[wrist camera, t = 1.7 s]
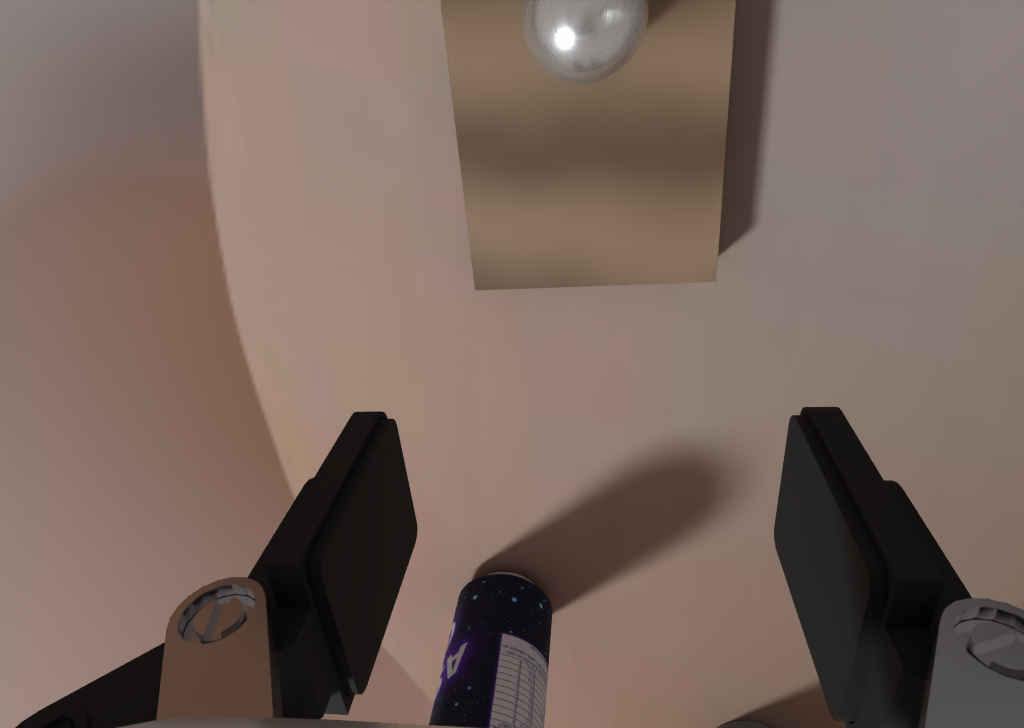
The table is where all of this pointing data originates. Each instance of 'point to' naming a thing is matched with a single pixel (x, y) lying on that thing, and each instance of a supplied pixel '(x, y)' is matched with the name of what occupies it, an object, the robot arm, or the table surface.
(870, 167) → the table surface
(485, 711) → the beverage can
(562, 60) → the steel ball
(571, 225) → the slotted wooden board
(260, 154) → the table surface
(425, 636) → the table surface
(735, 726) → the beverage cup
